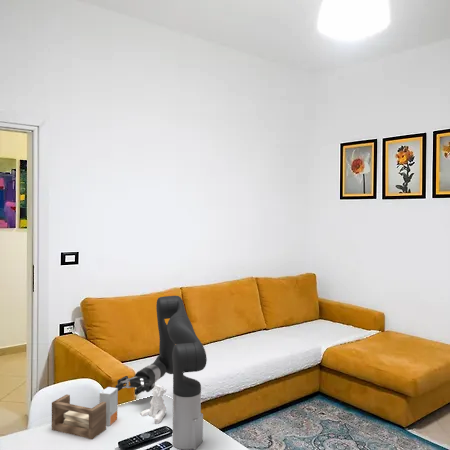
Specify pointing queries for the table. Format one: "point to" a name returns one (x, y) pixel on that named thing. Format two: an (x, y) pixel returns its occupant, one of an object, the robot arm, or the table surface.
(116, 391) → the skincare box
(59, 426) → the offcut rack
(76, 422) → the offcut stack
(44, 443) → the table surface
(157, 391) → the sitting furry creature
